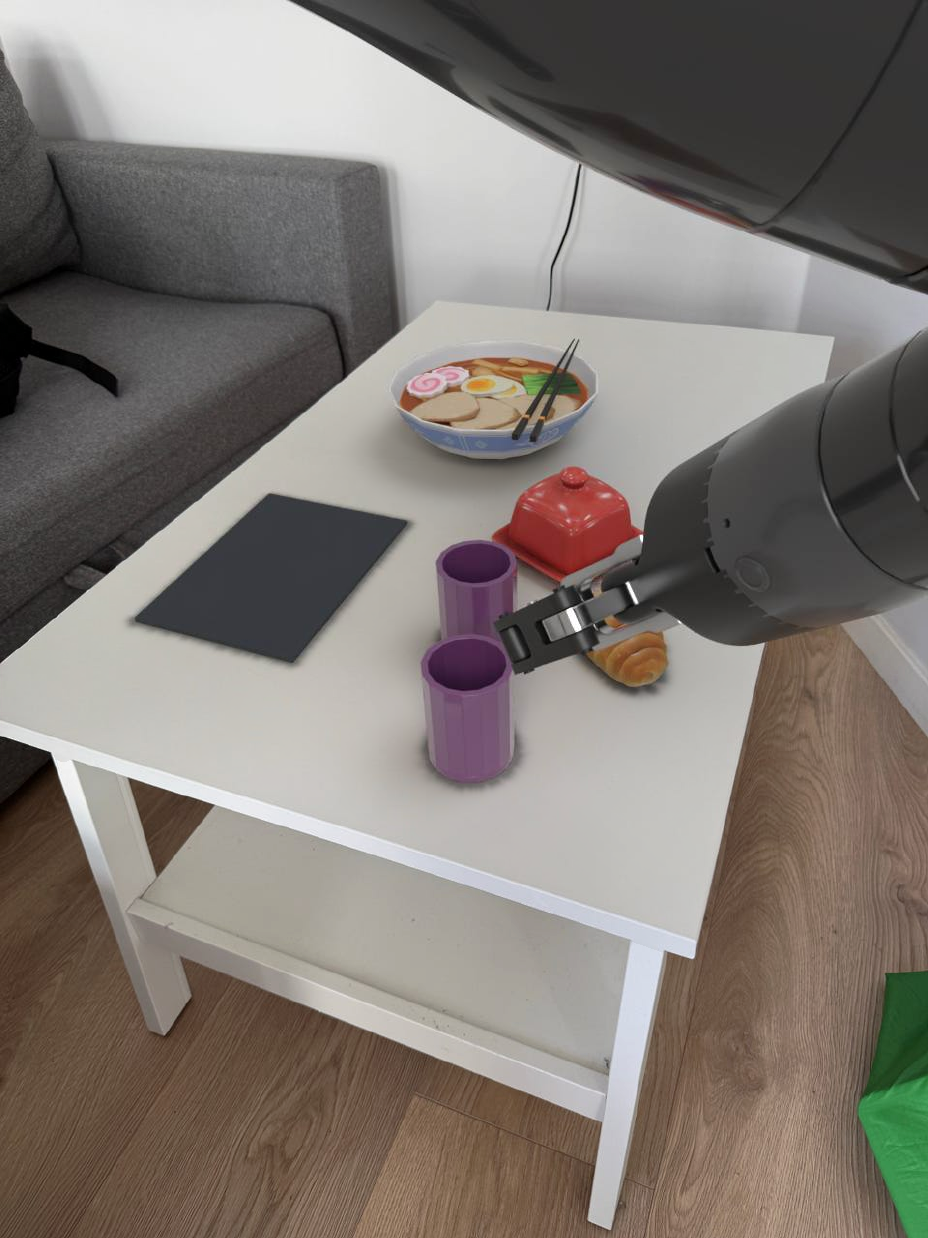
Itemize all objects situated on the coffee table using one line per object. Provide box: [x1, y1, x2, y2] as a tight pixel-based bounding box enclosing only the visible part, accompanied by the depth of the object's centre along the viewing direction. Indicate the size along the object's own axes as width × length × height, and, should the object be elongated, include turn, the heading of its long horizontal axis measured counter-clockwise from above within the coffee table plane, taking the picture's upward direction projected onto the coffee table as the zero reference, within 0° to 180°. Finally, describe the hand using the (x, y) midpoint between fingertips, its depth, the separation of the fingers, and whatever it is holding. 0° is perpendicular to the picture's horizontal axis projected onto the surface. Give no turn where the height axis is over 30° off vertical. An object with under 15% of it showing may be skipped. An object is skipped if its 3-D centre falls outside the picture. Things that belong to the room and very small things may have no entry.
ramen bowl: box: [387, 338, 600, 460], centre depth 100 cm, size 25×23×8 cm
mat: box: [134, 492, 408, 663], centre depth 85 cm, size 22×16×1 cm
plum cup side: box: [435, 539, 518, 643], centre depth 73 cm, size 6×6×8 cm
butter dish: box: [491, 466, 643, 584], centre depth 83 cm, size 12×12×8 cm
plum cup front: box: [420, 634, 516, 783], centre depth 64 cm, size 6×6×8 cm
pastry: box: [585, 588, 669, 688], centre depth 73 cm, size 9×7×4 cm
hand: (582, 610), depth 46 cm, fingers open, 8 cm apart
